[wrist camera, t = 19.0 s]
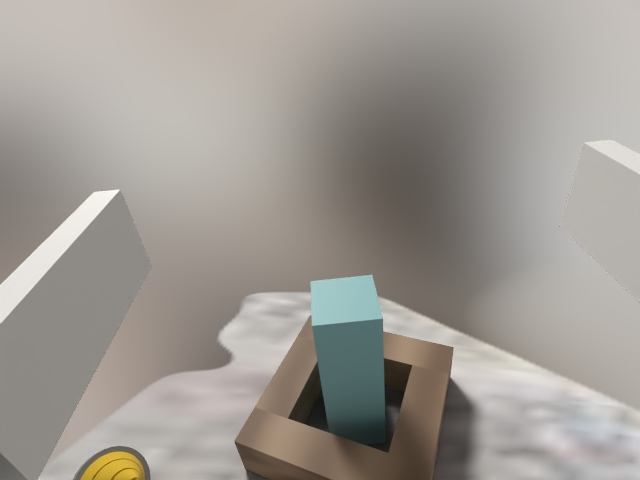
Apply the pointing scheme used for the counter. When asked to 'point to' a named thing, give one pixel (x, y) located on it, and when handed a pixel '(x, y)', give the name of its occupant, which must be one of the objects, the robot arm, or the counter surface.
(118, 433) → the counter surface
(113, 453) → the yellow grooved cone
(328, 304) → the teal peg
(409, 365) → the block
